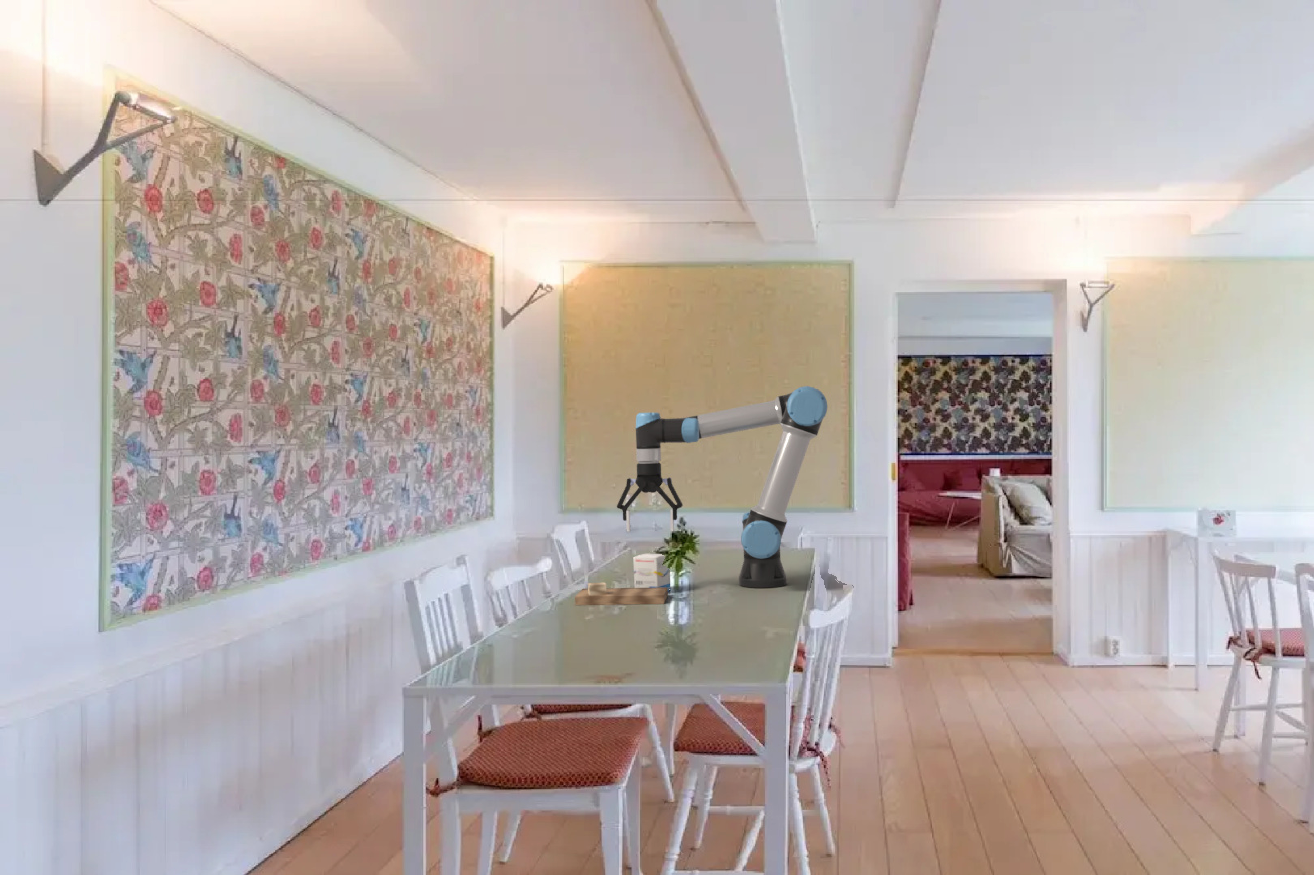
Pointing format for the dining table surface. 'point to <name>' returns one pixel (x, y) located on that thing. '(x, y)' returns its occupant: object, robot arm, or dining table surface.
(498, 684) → the dining table surface
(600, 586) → the beech offcut
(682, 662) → the dining table surface
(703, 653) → the dining table surface
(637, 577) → the ink box
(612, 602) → the board
